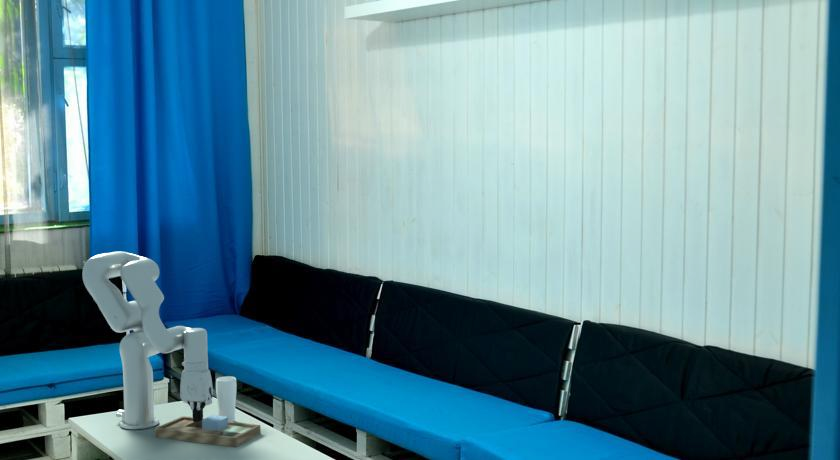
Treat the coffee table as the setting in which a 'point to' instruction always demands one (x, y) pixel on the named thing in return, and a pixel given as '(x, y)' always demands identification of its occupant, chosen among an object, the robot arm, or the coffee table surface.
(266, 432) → the coffee table surface
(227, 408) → the drinking glass
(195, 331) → the robot arm
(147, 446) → the coffee table surface
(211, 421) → the block
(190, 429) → the box
